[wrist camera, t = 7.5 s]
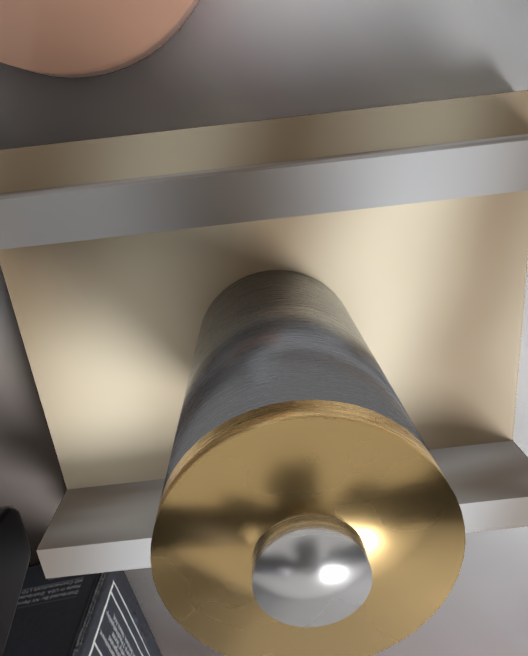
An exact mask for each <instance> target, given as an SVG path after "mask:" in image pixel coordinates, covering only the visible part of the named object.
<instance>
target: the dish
mask: <svg viewBox="0 0 528 656" xmlns="http://www.w3.org/2000/svg"><path fill="white" fill-rule="evenodd" d="M198 2H199V0H0V62H2V63H5V64H8V65H11V66H14V67H18V68H21V69H24V70H27V71H32V72H36V73H40V74H44V75H48V76H58V77H67V78H74V77H92V76H97V75H102V74H108V73H112V72H114V71H117V70H120V69H123V68H126V67H129V66H131V65H133V64H135V63H136V62H138V61H140V60H142V59H144V58H146V57H148V56H149V55H150V54H152V53H153V52H154V51H156V50H157V49H159V48H160V47H161V46H163V45H164V44H165V43H166V42H167V41H168V40H169V39H170V38H171V37H172V36H173V35H174V34H175V33H176V32H177V31H178V30H179V29H180V28H181V27H182V25H183V24H184V23H185V21H186V20H187V19H188V17H189V16H190V15H191V14H192V12H193V11H194V9H195V7H196V6H197V4H198Z"/></svg>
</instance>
